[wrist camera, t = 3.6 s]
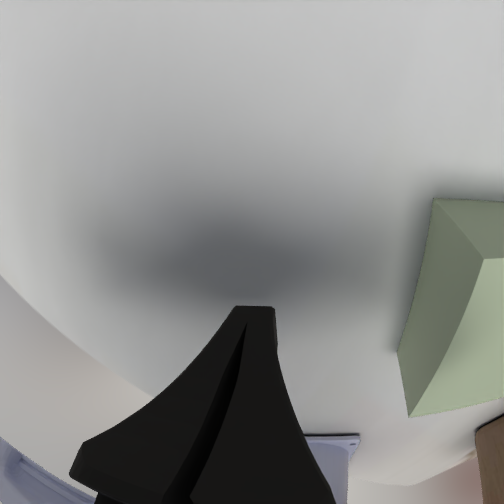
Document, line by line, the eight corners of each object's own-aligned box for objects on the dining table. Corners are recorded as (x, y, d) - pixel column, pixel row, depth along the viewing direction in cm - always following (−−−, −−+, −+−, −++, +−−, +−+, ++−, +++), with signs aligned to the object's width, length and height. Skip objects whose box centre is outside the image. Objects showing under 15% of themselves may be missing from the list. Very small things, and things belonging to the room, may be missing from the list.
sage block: (488, 337, 12) (511, 394, 9) (395, 348, 13) (408, 417, 10) (538, 203, 8) (592, 254, 4) (430, 195, 9) (483, 259, 6)
